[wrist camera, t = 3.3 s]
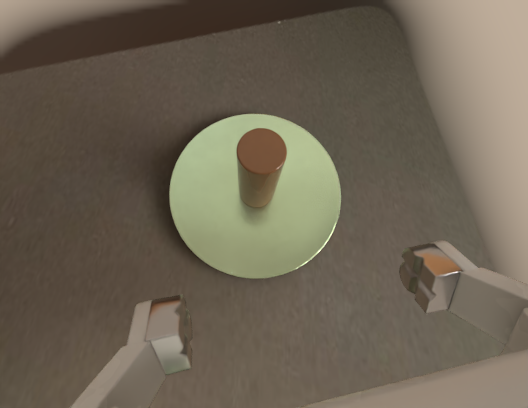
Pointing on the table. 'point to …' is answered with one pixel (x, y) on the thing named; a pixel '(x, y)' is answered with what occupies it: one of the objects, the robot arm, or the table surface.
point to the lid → (255, 196)
